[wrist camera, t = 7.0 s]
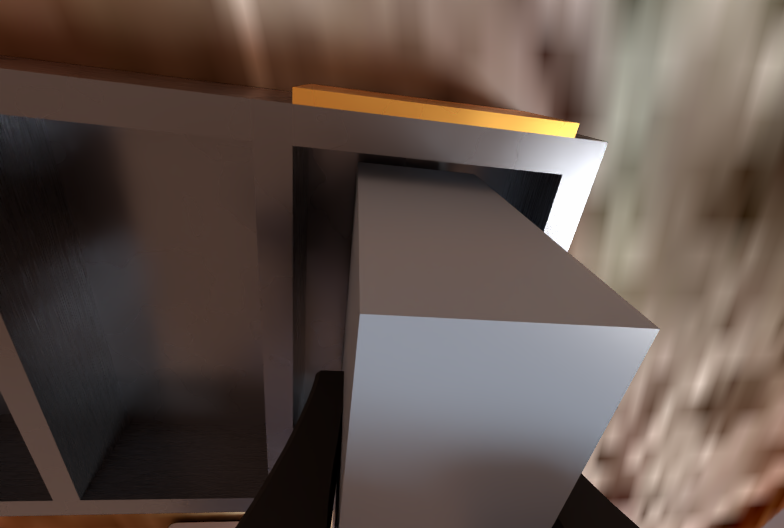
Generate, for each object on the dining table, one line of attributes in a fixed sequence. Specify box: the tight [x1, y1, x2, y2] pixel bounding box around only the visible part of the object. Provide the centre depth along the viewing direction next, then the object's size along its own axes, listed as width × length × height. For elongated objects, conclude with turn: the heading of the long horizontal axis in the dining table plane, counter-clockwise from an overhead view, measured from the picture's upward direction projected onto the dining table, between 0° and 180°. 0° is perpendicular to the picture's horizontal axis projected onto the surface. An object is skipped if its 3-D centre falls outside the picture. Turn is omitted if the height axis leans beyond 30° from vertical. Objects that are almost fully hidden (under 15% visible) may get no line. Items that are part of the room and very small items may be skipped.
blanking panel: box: [333, 162, 660, 528], centre depth 9 cm, size 9×3×7 cm, turn 173°
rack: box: [0, 55, 608, 516], centre depth 11 cm, size 14×21×4 cm, turn 83°
